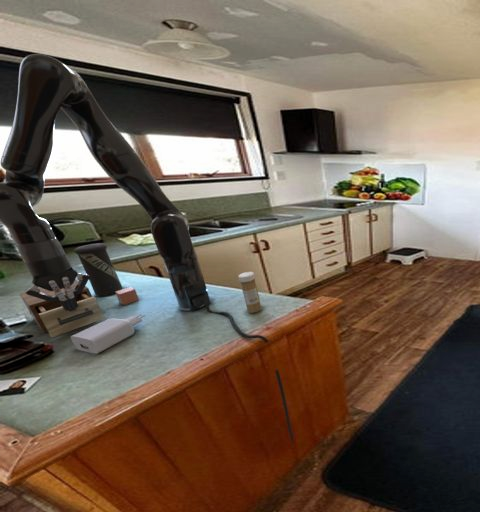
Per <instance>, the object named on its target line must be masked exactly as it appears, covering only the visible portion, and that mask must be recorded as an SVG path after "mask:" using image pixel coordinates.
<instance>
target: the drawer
mask: <svg viewBox="0 0 480 512" xmlns="http://www.w3.org/2000/svg"><path fill="white" fill-rule="evenodd" d="M66 298H67V297H66ZM75 300H76V302H77V304H78V307H76V310H73V311H71V312H70V311H69V310H67V311H66V310H65V309H64V308H63V307H62V305H61V303H60V302H59V301H55V302H49V303H46V304H43V305H39V306H36V307H37V309H38V311H39V316H40V318H41V319H42V321H43V323H44V325H45V327H46V328H47V330H48V332H47V333H48V334H49V335H50V338H56V337H58V336H60V335H63V334H67V333H68V332H72V331H74V330H77V329H80V328H83V327H85V326H88V325H90V324H94V323H96V322H99V321H101V320H104V319H105V316H104V314H103V311H102V309H101V307H100V305H99V303H98V300H97V299H96V296H92V297H91V298H90V297H88V296H87V295H86V294H84V293H81V294H78V295H76V296H75Z"/></svg>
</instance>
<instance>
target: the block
mask: <svg viewBox="0 0 480 512" xmlns="http://www.w3.org/2000/svg"><path fill="white" fill-rule="evenodd" d="M114 294H115V295H116V298H117V299H118V302H119V303H120V304H121V305H123V306H127V305H129V304H132V303H135V302H138V301H139V300H140V298H139V295H138V293H137V291H136V289H135V288H133V287H132V286H128V287H125V288H123V289H122V290H119V291H116V292H115V293H114Z"/></svg>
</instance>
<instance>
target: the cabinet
mask: <svg viewBox="0 0 480 512" xmlns="http://www.w3.org/2000/svg"><path fill="white" fill-rule="evenodd" d="M78 282H79V280H78V279H77V278H76V279H75V281H74V283H73V285H71V288H72V291H73V290H74V289H75V287H76V285H77V283H78ZM39 289H40V292H41V293H44V294H47V295H50V296H56V295H55V293H54V292H53V291H48V290H46V289H43V288H40V287H39ZM60 290H61V291H62V293H63V295H64V296H65V298H66V294H65V291H64V289H63V288H62V289H60ZM82 293H84V294H86V295H87V296H88V297H90V298H91V297H93V295H92V293H91V290H90V288H89V287H87V286H86V285H85V287H84V289H83V291H82ZM19 296H20V297H21V300H22V302H23V303H24V304H25V306H26V308H27V310H28V311H29V314H30V316H31V318H32V319H33V320H34V322H35V324H36V325H37V326H38V327H39V329H40V330H41V331H42V333H43V334H46V333H49V332H48V330H47V328H46V327H45V325H44V323H43V321H42V319H41V318H40V316H39V311H38V309H37V307H36V306H39V305H43V304H46V303H49V301H46V300H43V299H40V298H37V297H33V296H30V295H27V294H26V293H25V292H21V293H19Z"/></svg>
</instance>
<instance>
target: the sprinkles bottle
mask: <svg viewBox="0 0 480 512" xmlns="http://www.w3.org/2000/svg"><path fill="white" fill-rule="evenodd" d="M255 277H256V276H255V273H254V272H253V271H244V272H242V273H240V274H238V280H239V283H240V287H241V290H242V295H243V298H244V303H245V306H246V309H247V310H246V312H247V313H249V314H255V313H258V312H260V311H261V310H262V305H261V299H260V295H259V291H258V288H257V283H256V278H255Z"/></svg>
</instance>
